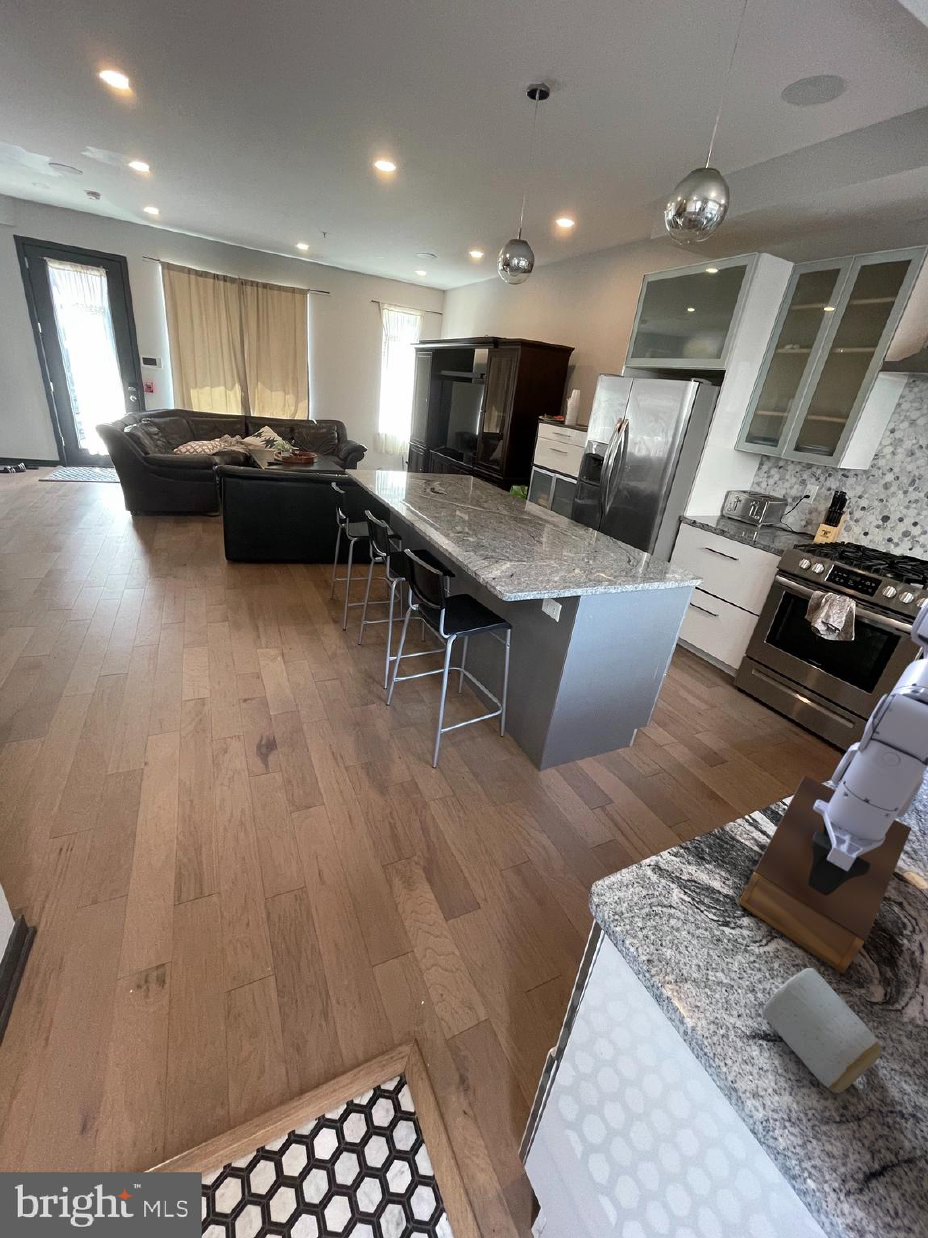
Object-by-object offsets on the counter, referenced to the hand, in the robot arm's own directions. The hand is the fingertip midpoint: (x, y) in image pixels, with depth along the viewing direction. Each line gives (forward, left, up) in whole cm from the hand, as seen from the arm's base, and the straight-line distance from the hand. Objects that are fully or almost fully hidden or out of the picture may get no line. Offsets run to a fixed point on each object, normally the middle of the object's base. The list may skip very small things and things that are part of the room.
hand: (821, 877), depth 63 cm
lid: (-6, 0, 0) cm, 6 cm away
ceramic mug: (+13, +5, -11) cm, 18 cm away
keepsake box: (-7, 0, -10) cm, 13 cm away
